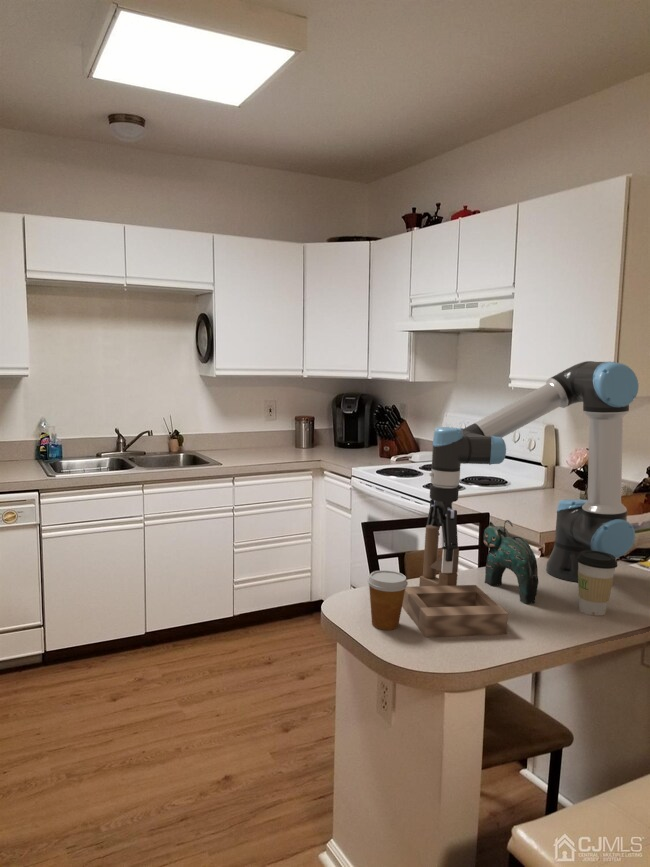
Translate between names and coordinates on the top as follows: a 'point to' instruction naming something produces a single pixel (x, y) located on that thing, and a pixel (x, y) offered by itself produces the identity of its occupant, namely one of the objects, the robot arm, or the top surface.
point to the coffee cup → (595, 580)
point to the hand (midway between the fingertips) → (439, 565)
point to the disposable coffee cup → (386, 598)
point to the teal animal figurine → (510, 561)
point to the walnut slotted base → (454, 611)
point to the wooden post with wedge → (436, 562)
